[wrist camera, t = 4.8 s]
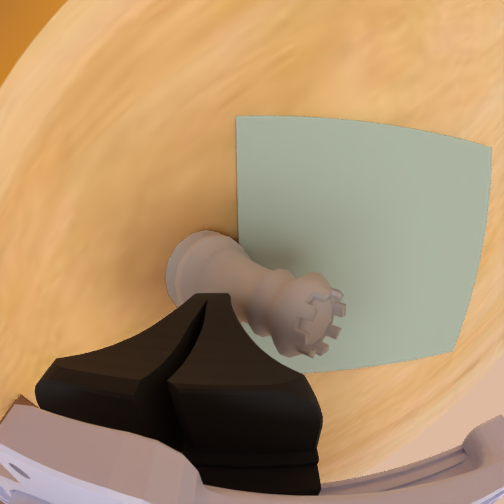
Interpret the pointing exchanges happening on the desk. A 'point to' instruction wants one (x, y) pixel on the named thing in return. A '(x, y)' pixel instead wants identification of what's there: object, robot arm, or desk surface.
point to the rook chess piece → (257, 293)
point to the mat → (366, 229)
